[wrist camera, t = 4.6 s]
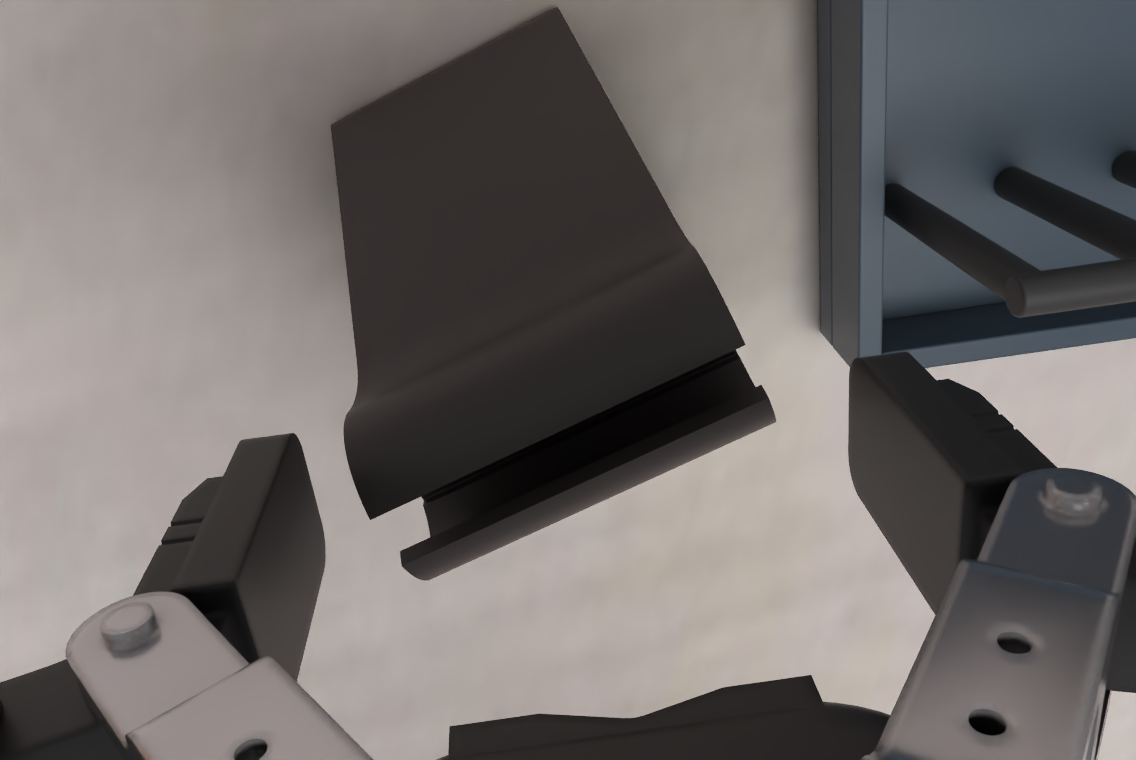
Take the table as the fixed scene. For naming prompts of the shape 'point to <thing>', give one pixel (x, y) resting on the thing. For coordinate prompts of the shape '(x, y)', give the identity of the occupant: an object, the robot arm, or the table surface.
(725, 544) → the table surface
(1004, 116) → the drying rack
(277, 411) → the table surface
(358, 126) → the phone stand
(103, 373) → the table surface
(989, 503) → the robot arm
